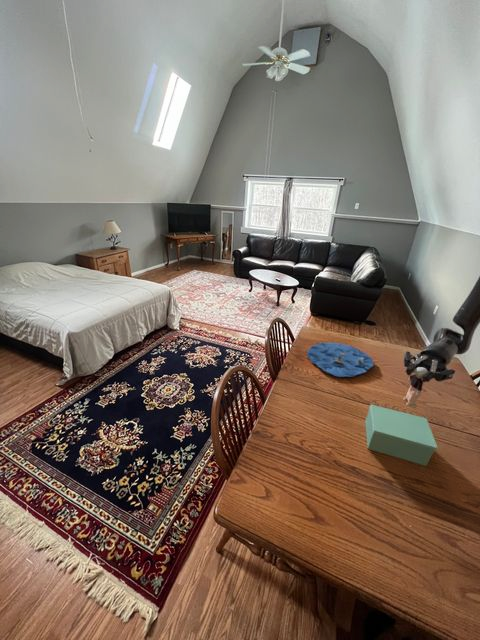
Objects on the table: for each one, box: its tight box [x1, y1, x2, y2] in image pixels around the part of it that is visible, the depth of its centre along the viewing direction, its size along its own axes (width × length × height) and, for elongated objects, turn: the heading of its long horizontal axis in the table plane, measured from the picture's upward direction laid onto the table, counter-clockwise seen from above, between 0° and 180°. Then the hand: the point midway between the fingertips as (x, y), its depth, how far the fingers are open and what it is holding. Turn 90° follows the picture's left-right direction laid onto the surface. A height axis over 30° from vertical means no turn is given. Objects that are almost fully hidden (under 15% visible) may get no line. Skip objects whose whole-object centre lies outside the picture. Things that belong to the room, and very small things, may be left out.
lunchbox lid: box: [369, 404, 439, 451], centre depth 81 cm, size 16×12×1 cm
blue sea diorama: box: [306, 341, 375, 378], centre depth 124 cm, size 30×30×5 cm
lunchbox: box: [364, 407, 436, 467], centre depth 82 cm, size 16×12×7 cm
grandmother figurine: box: [402, 367, 428, 409], centre depth 79 cm, size 8×4×13 cm, turn 0°
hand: (416, 375), depth 76 cm, fingers closed on grandmother figurine, 3 cm apart
